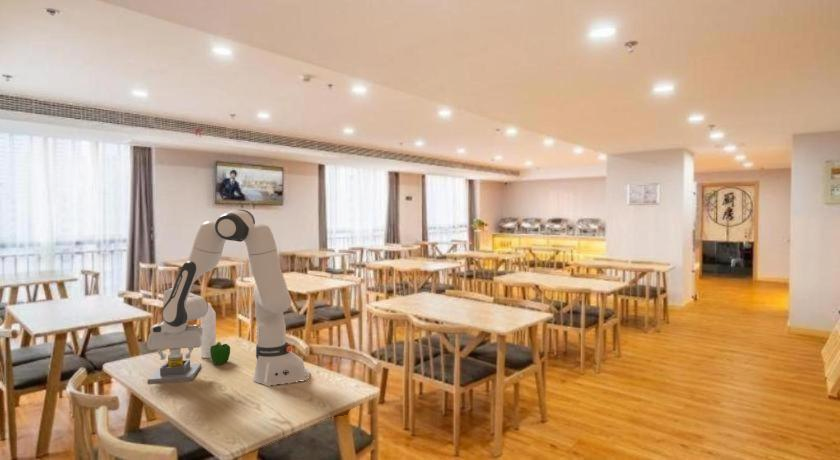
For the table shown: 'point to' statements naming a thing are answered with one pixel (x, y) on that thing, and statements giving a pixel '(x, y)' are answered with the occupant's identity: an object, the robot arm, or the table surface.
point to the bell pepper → (220, 353)
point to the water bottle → (208, 332)
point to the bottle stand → (175, 373)
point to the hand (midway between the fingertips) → (175, 358)
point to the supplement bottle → (175, 358)
